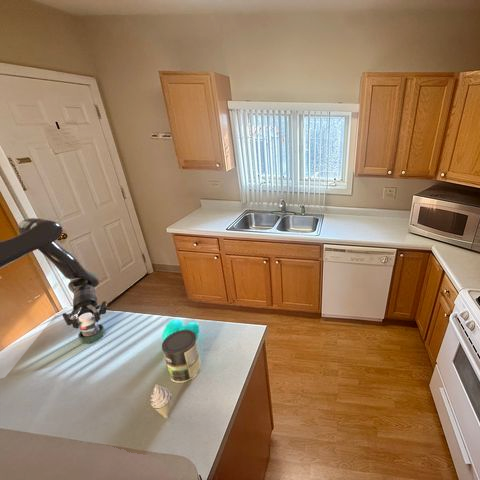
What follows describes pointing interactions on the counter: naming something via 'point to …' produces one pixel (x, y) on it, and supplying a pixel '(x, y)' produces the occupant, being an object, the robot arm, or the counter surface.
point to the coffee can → (182, 355)
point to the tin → (92, 338)
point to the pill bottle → (88, 324)
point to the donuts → (179, 328)
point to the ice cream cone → (161, 400)
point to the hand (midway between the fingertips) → (86, 323)
